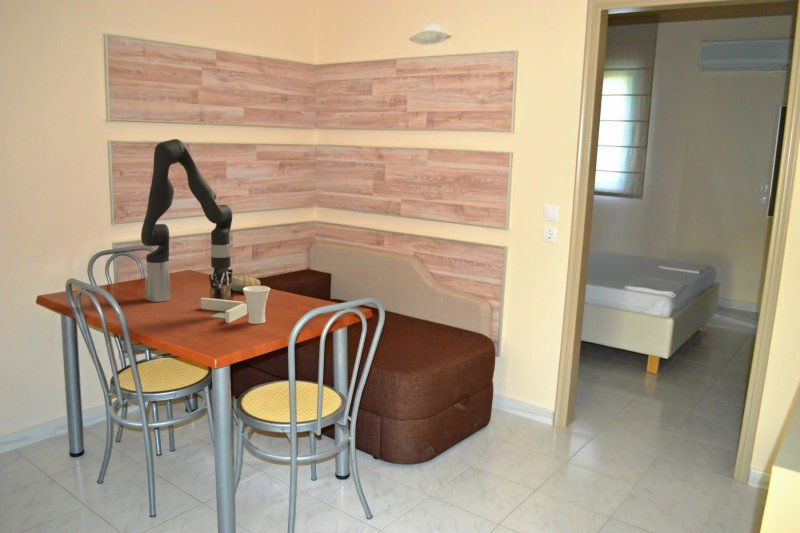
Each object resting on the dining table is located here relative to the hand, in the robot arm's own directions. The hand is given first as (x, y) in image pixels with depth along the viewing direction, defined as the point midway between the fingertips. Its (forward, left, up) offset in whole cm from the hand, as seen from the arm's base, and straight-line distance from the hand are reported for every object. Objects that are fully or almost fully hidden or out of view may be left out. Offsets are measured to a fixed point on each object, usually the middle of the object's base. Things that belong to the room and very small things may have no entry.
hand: (221, 296), depth 266 cm
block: (0, 0, 0) cm, 0 cm away
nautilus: (-17, +43, -8) cm, 47 cm away
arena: (-3, -1, -8) cm, 9 cm away
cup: (+17, -3, -8) cm, 19 cm away
